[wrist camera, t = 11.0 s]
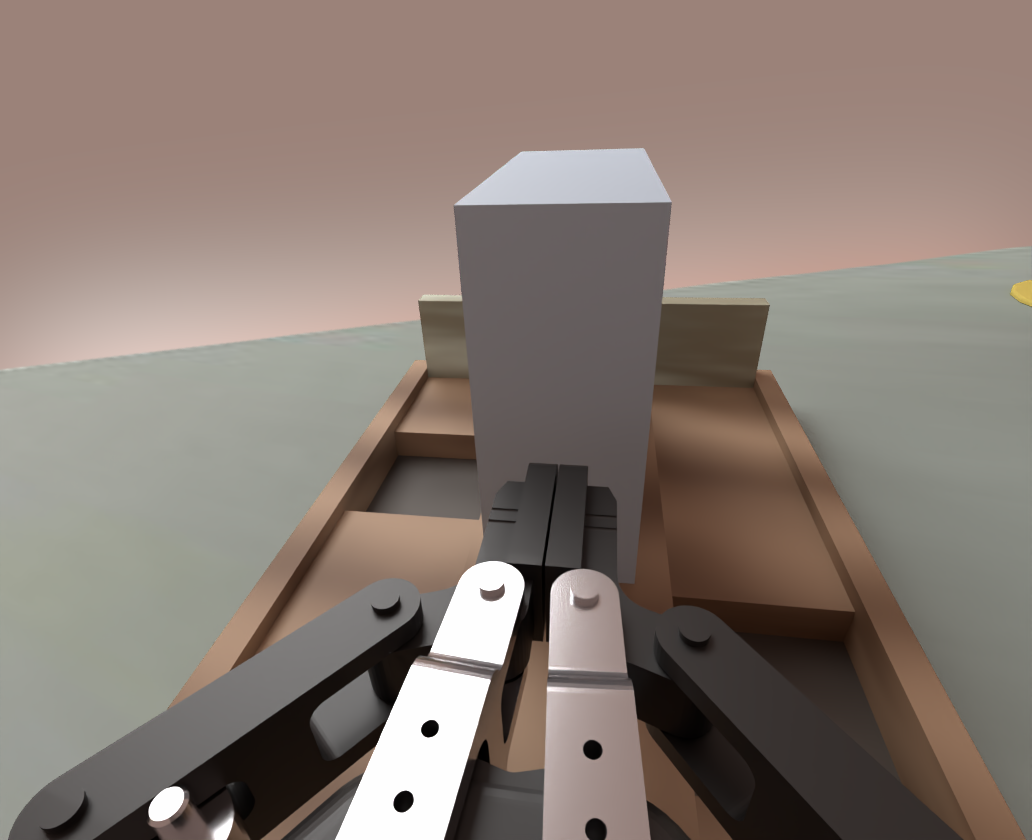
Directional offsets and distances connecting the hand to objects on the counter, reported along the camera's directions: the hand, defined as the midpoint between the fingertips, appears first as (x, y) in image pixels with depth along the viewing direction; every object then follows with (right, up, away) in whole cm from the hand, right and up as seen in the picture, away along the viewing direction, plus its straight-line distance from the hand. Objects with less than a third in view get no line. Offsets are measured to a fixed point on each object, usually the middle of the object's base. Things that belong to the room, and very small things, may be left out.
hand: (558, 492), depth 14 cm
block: (+1, 0, +10) cm, 10 cm away
